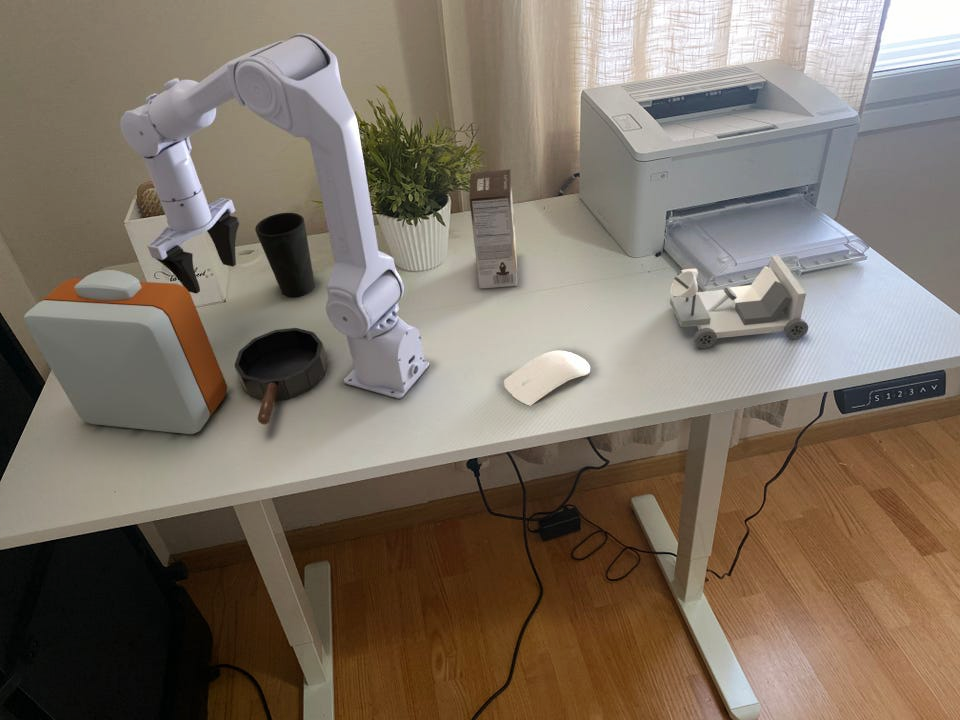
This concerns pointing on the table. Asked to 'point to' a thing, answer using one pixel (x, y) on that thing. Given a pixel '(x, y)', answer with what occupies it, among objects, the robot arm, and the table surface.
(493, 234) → the coffee box
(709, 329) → the toy cart
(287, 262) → the cup
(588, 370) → the computer mouse
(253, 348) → the pan
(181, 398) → the alarm clock
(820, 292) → the table surface
